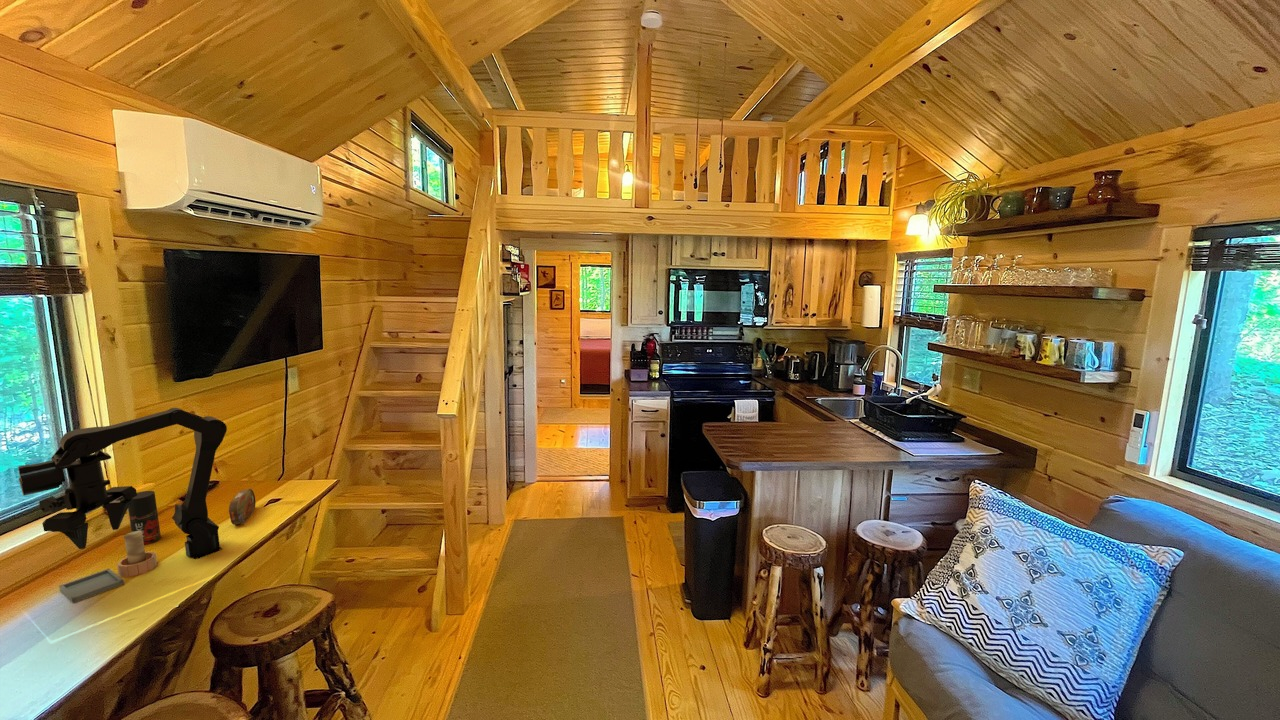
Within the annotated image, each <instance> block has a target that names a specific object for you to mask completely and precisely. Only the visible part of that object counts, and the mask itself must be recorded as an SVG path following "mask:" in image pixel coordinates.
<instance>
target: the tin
mask: <svg viewBox="0 0 1280 720" xmlns="http://www.w3.org/2000/svg"><path fill="white" fill-rule="evenodd" d="M255 509H256V495H255V492H254V490H253V489H252V488H248V489H242V490H240V491H239V492H238V493H237V494H236V495H235V497H233V498H232V500H231V501H230V502H229V506H228V513H229V517H230V523H231V524H232V525H233V526H235V525H237V526H238V525H241V524H243V525H244V524H245V523H246V522H247V521H248V520H249V518H250V517H251V516H252V515H253V514H254V512H255Z"/></svg>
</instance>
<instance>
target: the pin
mask: <svg viewBox="0 0 1280 720" xmlns="http://www.w3.org/2000/svg"><path fill="white" fill-rule="evenodd" d="M123 538H124V545H125V550H126V557H127V558H128V565H132V564H137V563H140V562H143V561H146V555H145V552H146V550H145V545H144V542H143V535H142V531H135V532H132V531H131V532H129V533H126V534H125V535H123Z"/></svg>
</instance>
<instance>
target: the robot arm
mask: <svg viewBox="0 0 1280 720" xmlns="http://www.w3.org/2000/svg"><path fill="white" fill-rule="evenodd" d="M175 425H178V426H181V427H184V428H187V429H190V430H192V431H193V438H194V444H195V452H194V453H195V454H194V456H193V457H194V458H193V462H192V463H193V464H192V467H191V473H190V475H189V477H190V478H189V481H188V482H189V483H188V485H187V490H186V497H185V499H184V500H183V502H182V503H181V504H179V503H176V504H175V505H174V514H173V515H172V517H171V519H172V520H173V521H174V524H175V526H177V528H179V530H180V531H181V532H183V533H184V534H186V536H185V537H186V541H185V542H184V549H185V555H186V556H187V557H188V558H191V559H193V560H198V559H201V558H204V557H206V556H207V557H208V555H212V554H214V553H217V552H220V551H222V550H223V548H222V547H221V545H220V537H219V529H220V526H219V525H217V523H216V522H214V521H213V520H212V519H210V518H209V511H208V506H207V496H208V491H209V487H210V486H209V485H210V481H211V475H212V472H213V471H212V470H213V467H214V461H215V457H216V452H217V450H218V448H219V447H220V445H221V444H222V442H223V441H224V438H225V436H226V434H227V430H228V426H227V424H226V423H225V422H224V421H223V420H220V419H218V418H216V417H214V416H210V415H207V416H201V415H199V414H198V415H197V414H194V413H192V412H189V411H186V410H183V409H182V408H179V407H172V408H169V409H167V410H162V411H160V412H155V413H153V414H152V413H151V414H149V415H146V416H145V415H144V416H141V417H138V418H134V419H130V420H127V421H123V422H120V423H116V424H115V423H114V424H112V425H107V426H93V427H92V426H91V427H85V428H79V429H72V430H71V431H67V432H65V433H64V434H63V435H62V437H61V438H60V441H59V445H60V446H59V447H58V449H57V450H56V451H55V452H54V454H53V455H52V456H51V458H50V460H48V461H43V462H38V463H34V464H33V463H31V464H26V465H25V464H24V465H20V466H18V467H17V469H18V475H19V477H18V482H19V485H20V489H21V492H22V495H23V496H24V497H25V496H28V495H33V494H38V493H41V492H46V491H50V490H53V489H59V488H60V486H62V485H63V483H65V482H66V477H65V472H64V470H65V469H66V472H67V476H68V482H69V486H70V487H67V488H66V489H65V490H64V493H63V494H61V495H59V496H57V497H55V496H52V495H51V496H49V497H45V498H43V499H41V500H39V502H38V503H39V508H40V509H39V510H41V512H42V513H45V514H46V513H49V512H50V513H51V514H54V515H52V516H50V517H47V518H45V520H43V522H42V528H43V532H52V533H55V532H56V533H62V534H63V535H65V536H66V537H67V538H68V539H69V540H70V541H71V542H72V543H73V544H74V545H75V546H76V547H77V549H78V550H84V549H86V547H87V541H88V530H89V522H86V520H87V515H89V514H91V513H92V512H94V511H96V510H98V509H101V508H103V509H104V510H105V511H106V512H107V516H108V520H109V523H110V527H111V529H112V530H113V531H118V530H120V526H121V525H122V522H123V520H124V517H125V515H126V513H127V511H128V507H129V505H130V503H131V502H132V501H133V497H135V496H137V493H138V491H137V488H135V487H133V486H132V485H128V486H127V485H126V486H112V487H110V488H108V489H107V487H106V486H108V485H110V484H111V480H110V479H105V477H104V471H103V467H102V463H101V461H102V462H103V461H107V460H110V459H112V455H110V453H107V452H104V451H102V450H104V449H105V450H106V448H108V447H110V446H111V445H114V444H115V443H118V442H120V441H123V440H127V439H129V438H130V439H131V438H133V437H137V436H142V435H144V434H146V433H147V434H148V433H151V432H155V431H158V430H161V429H164V428H168V427H171V426H175ZM63 509H66V511H67V510H68V511H67V512H66V511H63V512H61V510H63ZM71 510H74V511H71ZM58 511H60V512H58ZM56 512H58V513H56ZM55 513H56V514H55Z"/></svg>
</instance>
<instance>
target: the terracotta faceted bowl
mask: <svg viewBox="0 0 1280 720" xmlns="http://www.w3.org/2000/svg"><path fill="white" fill-rule="evenodd" d="M145 555H146V561H143V562H140V563H137V564H132V565H128V558H127V556H125V557H124V558H122V559H121V560H119V561H118V562H117V564H116V565H117V572H118V576H119V577H120V578H122V577H123V578H124V577H125V578H128V577H134V576H139V575H143V574H144V573H147V572H150V571H152V570H153V569H155V568H156V566H157V565H158V560H157V553H156V552H154V551H145Z"/></svg>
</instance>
